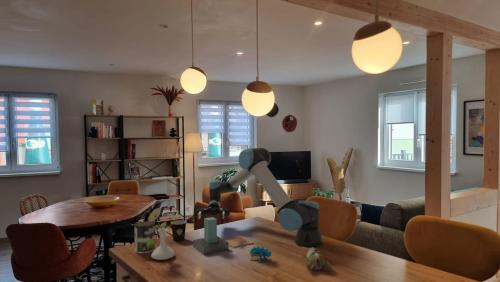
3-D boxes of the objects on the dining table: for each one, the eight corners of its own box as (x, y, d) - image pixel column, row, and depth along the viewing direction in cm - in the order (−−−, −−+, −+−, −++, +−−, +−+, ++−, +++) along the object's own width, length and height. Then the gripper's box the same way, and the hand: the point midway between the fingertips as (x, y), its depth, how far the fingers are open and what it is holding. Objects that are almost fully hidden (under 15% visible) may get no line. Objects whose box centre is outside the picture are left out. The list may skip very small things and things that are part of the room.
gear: (274, 255, 160) (267, 245, 154) (272, 267, 156) (265, 257, 150) (254, 255, 165) (246, 245, 159) (252, 266, 161) (243, 256, 155)
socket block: (228, 250, 173) (228, 242, 173) (203, 255, 165) (203, 247, 165) (216, 242, 185) (216, 235, 184) (193, 247, 177) (193, 239, 177)
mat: (253, 243, 183) (253, 242, 183) (233, 247, 176) (233, 246, 176) (241, 237, 194) (241, 236, 194) (221, 241, 187) (221, 240, 187)
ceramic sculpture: (323, 243, 156) (333, 256, 141) (323, 260, 157) (333, 276, 142) (301, 244, 155) (308, 257, 141) (301, 261, 156) (308, 277, 141)
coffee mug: (188, 237, 194) (188, 220, 194) (183, 242, 186) (183, 224, 186) (169, 236, 196) (168, 220, 195) (163, 241, 187) (163, 224, 187)
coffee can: (159, 248, 175) (158, 222, 175) (143, 255, 166) (143, 227, 166) (145, 245, 180) (145, 220, 180) (130, 251, 172) (129, 224, 171)
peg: (217, 249, 174) (216, 219, 174) (208, 251, 171) (208, 220, 171) (212, 246, 178) (212, 217, 178) (204, 248, 176) (204, 218, 175)
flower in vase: (167, 251, 171) (166, 203, 170) (179, 257, 162) (178, 207, 162) (143, 258, 161) (143, 207, 161) (155, 265, 153) (154, 211, 153)
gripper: (233, 213, 207) (233, 223, 185) (193, 213, 206) (188, 223, 184) (233, 201, 206) (233, 209, 185) (193, 201, 205) (188, 209, 184)
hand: (211, 216), depth 185 cm, fingers open, 13 cm apart
